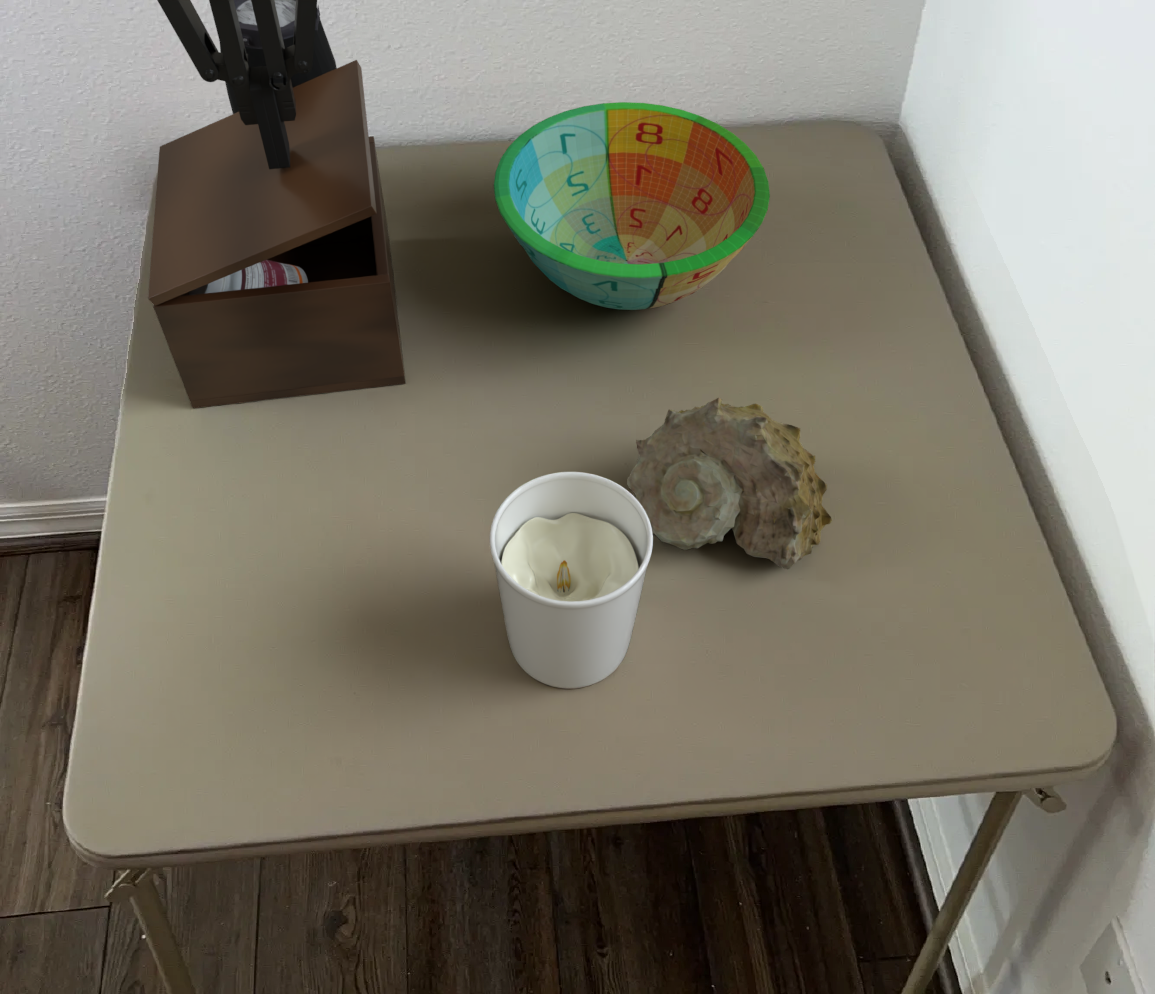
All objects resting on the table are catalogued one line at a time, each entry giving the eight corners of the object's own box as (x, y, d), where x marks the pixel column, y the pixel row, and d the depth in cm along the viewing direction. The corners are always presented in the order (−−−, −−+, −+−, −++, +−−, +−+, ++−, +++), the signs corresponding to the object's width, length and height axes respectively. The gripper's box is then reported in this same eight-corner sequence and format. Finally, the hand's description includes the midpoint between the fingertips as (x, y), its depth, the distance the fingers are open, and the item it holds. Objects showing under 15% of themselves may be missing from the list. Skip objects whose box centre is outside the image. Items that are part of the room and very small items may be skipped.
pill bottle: (280, 325, 95) (182, 309, 89) (284, 268, 95) (187, 249, 89) (307, 323, 91) (207, 307, 86) (312, 264, 91) (213, 244, 85)
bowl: (498, 195, 106) (494, 101, 98) (736, 192, 106) (751, 98, 98) (498, 370, 92) (492, 277, 84) (770, 365, 93) (790, 272, 85)
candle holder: (485, 590, 79) (475, 486, 70) (619, 563, 81) (628, 458, 71) (513, 714, 74) (507, 619, 64) (658, 683, 75) (673, 586, 66)
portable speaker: (262, 177, 107) (212, -24, 91) (362, 173, 107) (329, -27, 92) (253, 237, 101) (199, 34, 86) (359, 232, 102) (323, 30, 86)
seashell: (631, 464, 88) (623, 378, 80) (820, 459, 87) (832, 371, 79) (629, 586, 82) (621, 506, 73) (834, 583, 80) (849, 501, 72)
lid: (361, 68, 88) (356, 59, 87) (376, 214, 77) (371, 205, 77) (165, 154, 91) (159, 146, 90) (154, 306, 80) (147, 298, 80)
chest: (389, 239, 102) (373, 135, 93) (405, 383, 91) (389, 282, 82) (198, 259, 100) (164, 155, 91) (192, 408, 89) (153, 307, 80)
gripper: (71, -156, 61) (186, 198, 80) (315, -172, 62) (372, 180, 81) (82, -215, 65) (189, 134, 84) (311, -228, 67) (365, 118, 86)
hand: (279, 156), depth 83 cm, fingers closed
